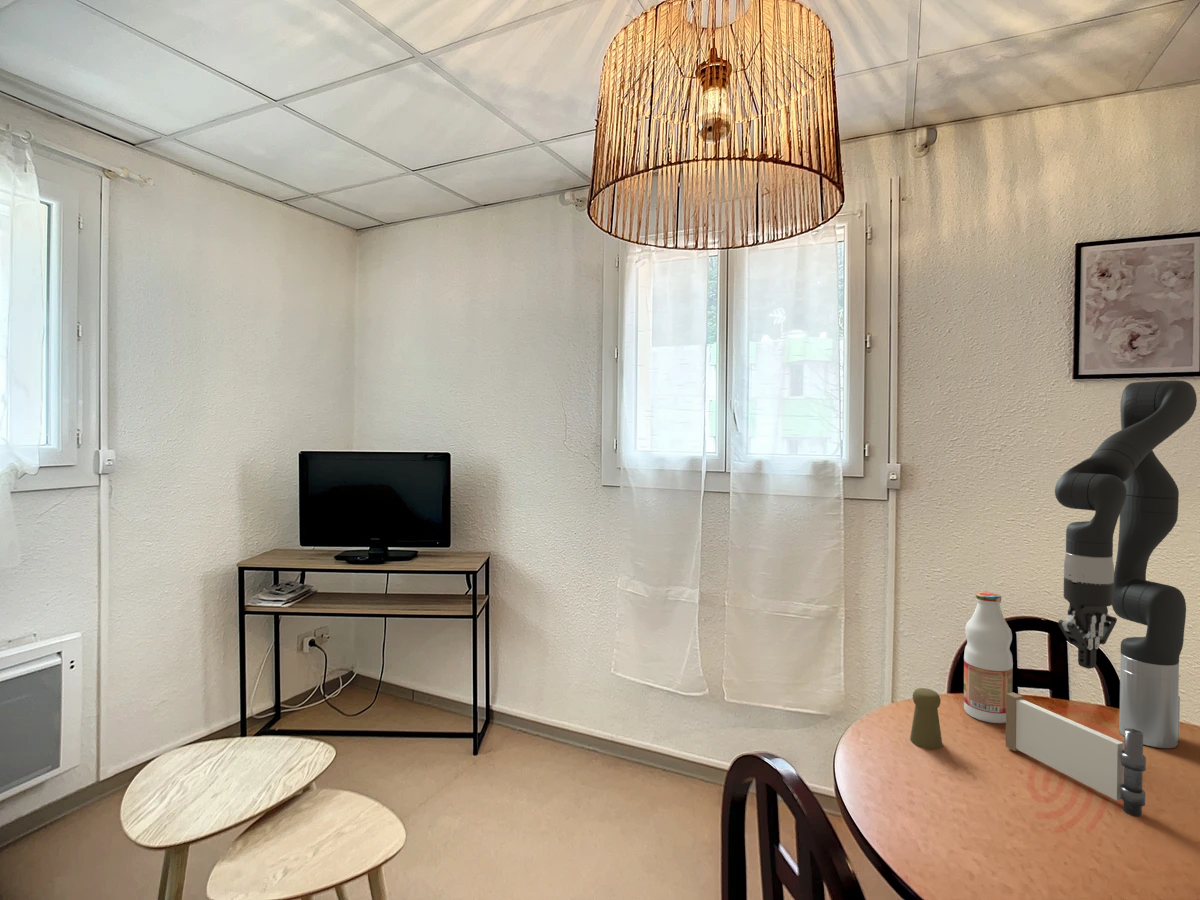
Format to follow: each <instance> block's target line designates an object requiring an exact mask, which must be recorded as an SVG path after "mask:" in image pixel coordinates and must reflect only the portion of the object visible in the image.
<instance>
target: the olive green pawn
mask: <svg viewBox="0 0 1200 900" xmlns="http://www.w3.org/2000/svg"><path fill="white" fill-rule="evenodd" d="M912 700H913V703H914V711H913V712H914V713H913V718H912V725H911V732H910V739H909V740H910V742H911V743H912V744H913V745H915V746H916V747H917V746H918V747H919V748H922V749H927V750H940V749H942V747H943V739H942V733H941V732H942V731H941V726H940V725H941V724H940V719H939V718H940V717H939V716H940V715H939V712H938V711H939V710H938V709H939V707H941V706H940V705H941V697H940V694H938V692H936V691H935V690H933V689H930V688H928V687H927V688H926V687H919V688H916V689H914V691H913V692H912Z"/></svg>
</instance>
